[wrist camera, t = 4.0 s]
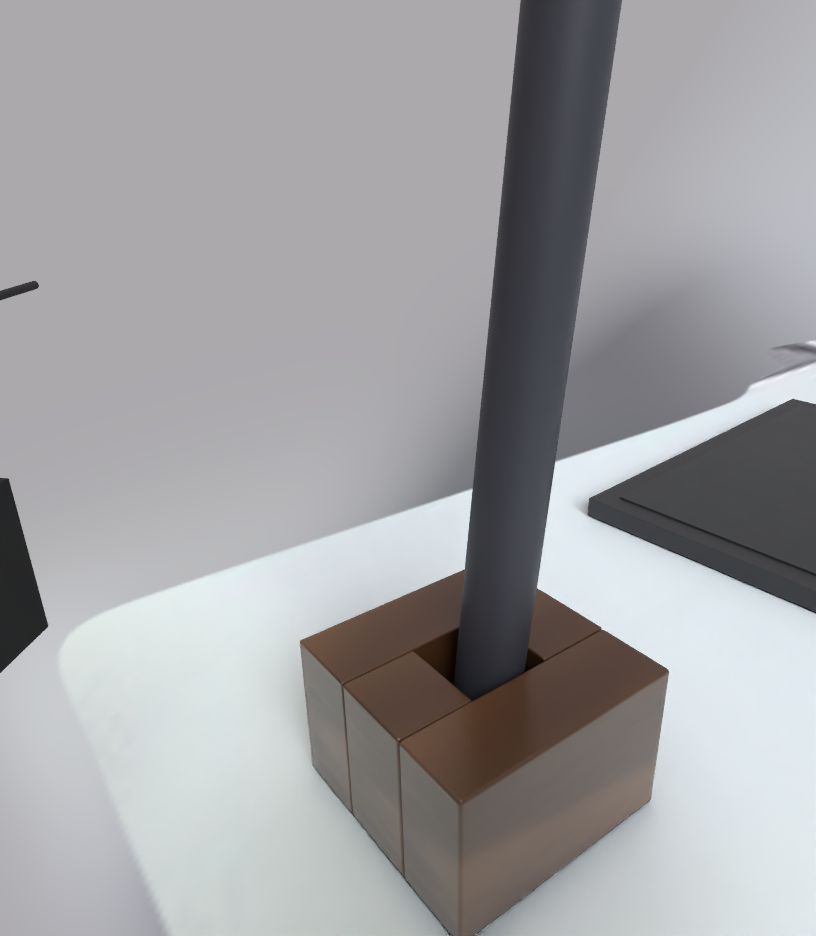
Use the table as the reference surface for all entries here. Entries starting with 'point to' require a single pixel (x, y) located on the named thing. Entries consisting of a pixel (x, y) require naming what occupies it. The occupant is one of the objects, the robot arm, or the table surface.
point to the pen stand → (480, 746)
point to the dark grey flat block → (734, 503)
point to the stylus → (532, 322)
